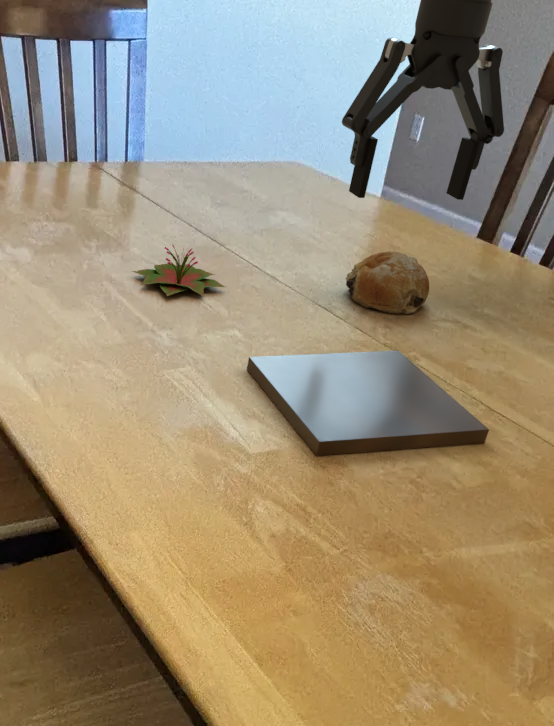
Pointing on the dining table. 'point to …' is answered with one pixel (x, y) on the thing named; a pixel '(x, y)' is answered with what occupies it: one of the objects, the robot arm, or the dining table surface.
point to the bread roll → (389, 283)
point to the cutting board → (363, 402)
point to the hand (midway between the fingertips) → (406, 195)
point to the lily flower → (178, 276)
